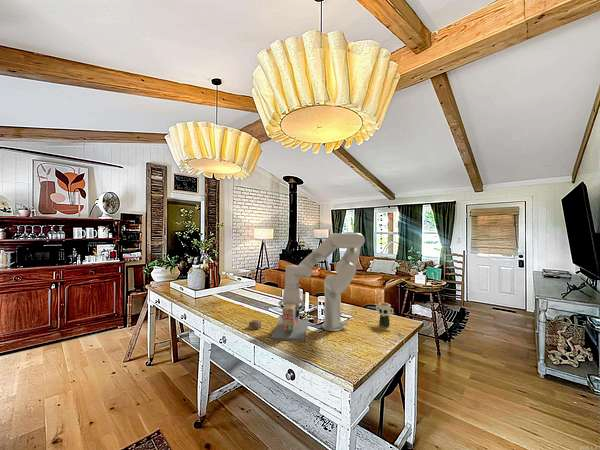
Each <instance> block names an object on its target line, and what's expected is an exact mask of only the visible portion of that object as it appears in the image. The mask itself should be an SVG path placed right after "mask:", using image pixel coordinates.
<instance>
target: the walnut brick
mask: <svg viewBox="0 0 600 450" xmlns="http://www.w3.org/2000/svg"><path fill="white" fill-rule="evenodd" d="M261 328H262V320H259V319H251V320H249V322H248V329H251V330H260V329H261Z"/></svg>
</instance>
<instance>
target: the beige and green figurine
mask: <svg viewBox="0 0 600 450" xmlns="http://www.w3.org/2000/svg"><path fill="white" fill-rule="evenodd" d="M375 311H377V312H378V315H380V316H379V321H378V324H379V325H380V326H383V327H389V326H390V317H389V316H390V315H393V314H394V308H392V307H391V304H390V303H388V302H379V303H378V305H375Z"/></svg>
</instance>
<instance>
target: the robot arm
mask: <svg viewBox="0 0 600 450" xmlns="http://www.w3.org/2000/svg"><path fill="white" fill-rule="evenodd" d="M365 241H366V239H365V236H364V235H363V234H361V233H360V232H349V233H337V232H334V233H331V234H330V235H329V236H328V237H326V238H325V239H324V241H322V242H321V243H320V244H319V246H317V248H315V249H314V250H313V251H312V252H311V253H309V254H308V255H307V256H306V257H304V259H303V260H301V262H300V263H299V264H298V265H297V264H287V265H286V266H285V277H284V278H285V279H284V280H285V282H284V284H285V286H284V288H283V294H282V299H280V301H279V302H278V305H279V306H280V307H281V309H282V310H283V307H284V306H285V305H286V304H296V308H297V311H296V318H298V316H299V310H300V311H301V309H303V307H304V306H305V305H306V304H305V302H304V301H303V300H302V299H301V290H300V288H301V284H300V283H299V278H300V279H309V278H310V277H311V276H312V275H313V270H312V269H313V267H314V266H315V265H317V264H318V263H321V262H323V261H325V260H327V259H328V258H329V257H330V256H331V255H332V254H333V253H334V252H335V251H336V250H337V249H345V252H344V254H343V255H342V257H341V258H340V259H339V260H338V262H337V264H336V265H335V268H334V269H335V272H336V274H328V275H327V276H326V277H325V278H324V280H323V289H324V322H323V323H322V324H321V328H322V329H323V330H325V331H327V332H339V331H342V330H343V329H344V326H345V327H348V326H349V322H348V321H347V322H346V321H344V320H342V319H341V315H342V313H341V308H342V307H341V303H342V302H341V301H342V299H341V298H342V297H341V296H342V294H343V293H344V292H345V291H346V290H347V288H348V287H349V285H350V284H351V283H352V281H353V279H354V278H355V276H356V274H357V273H356V272H357V268H356V266H355V264H356V263H357V260H359V257H360V253H361V247H363V246H364V244H365ZM300 304H301V305H300Z"/></svg>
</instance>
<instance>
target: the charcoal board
mask: <svg viewBox="0 0 600 450" xmlns="http://www.w3.org/2000/svg"><path fill="white" fill-rule="evenodd" d="M282 322H283V319H282V318H280V320H279V321H278V324H277V326H276V327H275V329H274V331H273V333H272V335H271V337H270V339H271V340H274V339H281V340H280V341H292V340H293V341H295V342H305V340H306V336H307V330H308V327H309V323H308V322H310V321H309V319H299V320H298V321H297V324H296V326H295V328H294V330H293V331H289V330H282Z"/></svg>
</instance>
